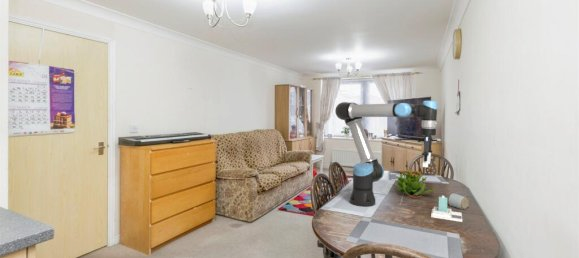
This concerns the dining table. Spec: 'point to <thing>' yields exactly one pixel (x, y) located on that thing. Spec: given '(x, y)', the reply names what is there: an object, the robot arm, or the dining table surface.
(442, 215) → the outlet plate
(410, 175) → the potted flower
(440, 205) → the block
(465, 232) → the dining table surface
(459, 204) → the ceramic mug
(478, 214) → the dining table surface
